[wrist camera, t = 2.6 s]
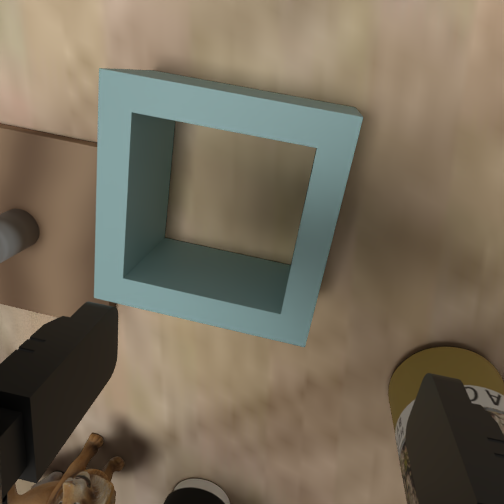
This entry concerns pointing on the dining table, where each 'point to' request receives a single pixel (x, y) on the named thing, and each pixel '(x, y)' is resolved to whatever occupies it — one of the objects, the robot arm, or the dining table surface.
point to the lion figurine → (74, 482)
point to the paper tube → (450, 365)
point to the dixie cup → (197, 493)
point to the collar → (157, 191)
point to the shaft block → (47, 221)
